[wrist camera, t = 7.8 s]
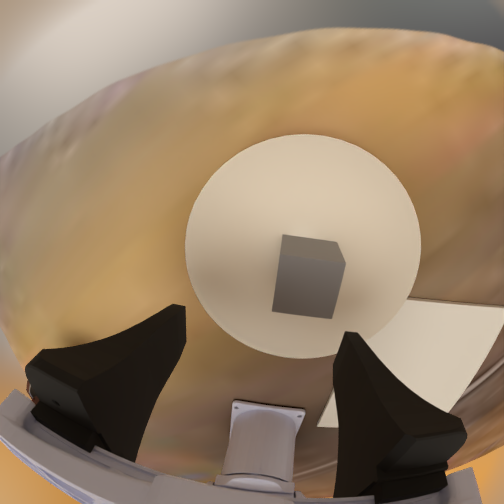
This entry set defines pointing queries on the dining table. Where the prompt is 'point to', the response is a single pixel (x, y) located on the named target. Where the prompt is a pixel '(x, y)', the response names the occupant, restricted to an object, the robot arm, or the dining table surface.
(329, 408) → the mat
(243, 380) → the dining table surface
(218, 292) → the lid
